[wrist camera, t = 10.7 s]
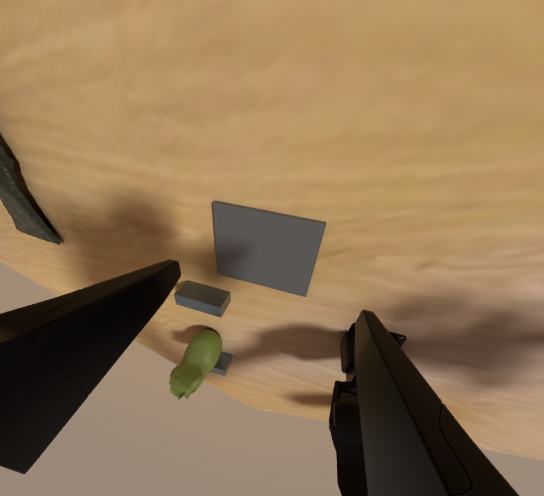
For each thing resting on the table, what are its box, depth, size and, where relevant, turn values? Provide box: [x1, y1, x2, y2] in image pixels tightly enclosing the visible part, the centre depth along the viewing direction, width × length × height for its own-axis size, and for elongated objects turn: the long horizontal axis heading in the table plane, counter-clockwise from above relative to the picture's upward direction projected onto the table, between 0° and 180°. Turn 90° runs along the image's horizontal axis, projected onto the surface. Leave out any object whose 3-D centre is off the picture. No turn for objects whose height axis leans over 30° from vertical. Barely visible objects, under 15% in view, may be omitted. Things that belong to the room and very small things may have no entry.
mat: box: [213, 201, 326, 297], centre depth 23 cm, size 12×10×1 cm
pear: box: [169, 330, 222, 399], centre depth 31 cm, size 6×5×10 cm
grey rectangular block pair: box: [174, 280, 232, 376], centre depth 32 cm, size 7×19×3 cm, turn 174°
